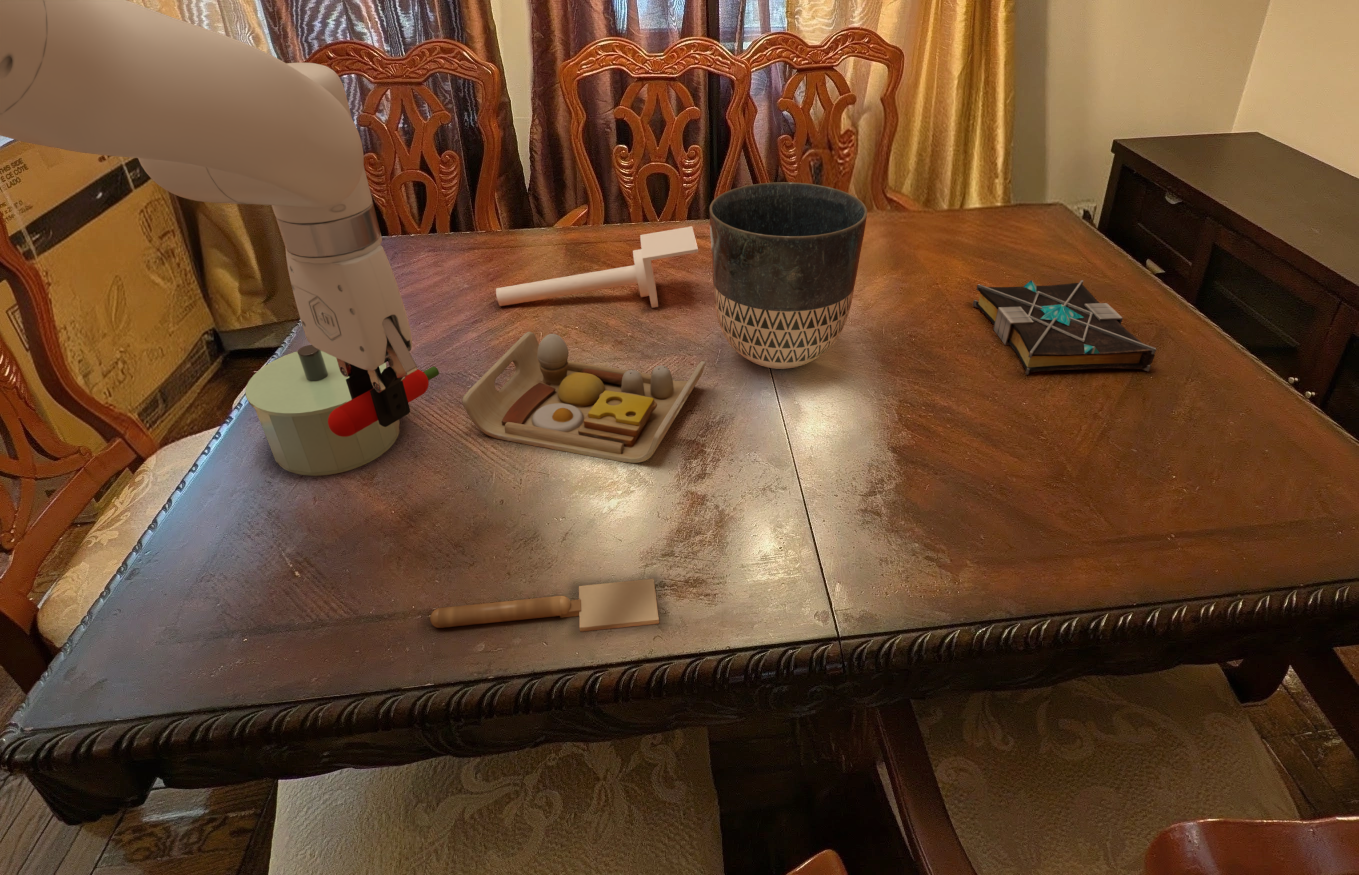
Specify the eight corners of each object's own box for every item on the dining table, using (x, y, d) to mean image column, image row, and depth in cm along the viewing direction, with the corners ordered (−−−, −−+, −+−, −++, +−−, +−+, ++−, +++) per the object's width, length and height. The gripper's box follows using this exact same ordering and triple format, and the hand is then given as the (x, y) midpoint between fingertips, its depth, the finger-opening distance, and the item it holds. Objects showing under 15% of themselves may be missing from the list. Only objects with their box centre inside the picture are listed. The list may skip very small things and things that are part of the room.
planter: (686, 376, 108) (684, 223, 96) (738, 315, 123) (742, 175, 110) (826, 407, 102) (843, 246, 89) (864, 338, 116) (883, 192, 103)
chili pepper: (345, 446, 73) (336, 421, 71) (326, 436, 74) (317, 411, 72) (448, 386, 81) (442, 362, 79) (429, 378, 82) (423, 354, 80)
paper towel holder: (698, 248, 119) (487, 284, 120) (705, 301, 125) (503, 335, 125) (692, 226, 127) (494, 259, 128) (699, 276, 132) (508, 308, 133)
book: (1150, 372, 107) (1162, 339, 104) (1025, 377, 106) (1033, 344, 104) (1077, 300, 124) (1086, 270, 122) (970, 304, 124) (976, 274, 121)
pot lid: (300, 437, 85) (286, 401, 82) (221, 394, 92) (207, 359, 89) (415, 374, 95) (407, 340, 92) (336, 340, 102) (326, 307, 100)
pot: (322, 491, 90) (299, 429, 85) (249, 448, 97) (224, 389, 92) (424, 429, 99) (409, 370, 94) (351, 394, 106) (334, 337, 101)
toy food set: (467, 434, 98) (456, 381, 94) (534, 362, 112) (526, 313, 108) (662, 470, 92) (659, 415, 87) (707, 389, 106) (707, 338, 101)
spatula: (428, 647, 72) (424, 634, 70) (436, 604, 76) (432, 591, 75) (659, 623, 73) (658, 610, 72) (653, 582, 77) (653, 569, 76)
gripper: (233, 224, 67) (299, 406, 78) (353, 267, 60) (407, 462, 71) (311, 198, 72) (363, 372, 83) (432, 234, 65) (471, 421, 75)
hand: (383, 412), depth 77 cm, fingers closed on chili pepper, 2 cm apart
